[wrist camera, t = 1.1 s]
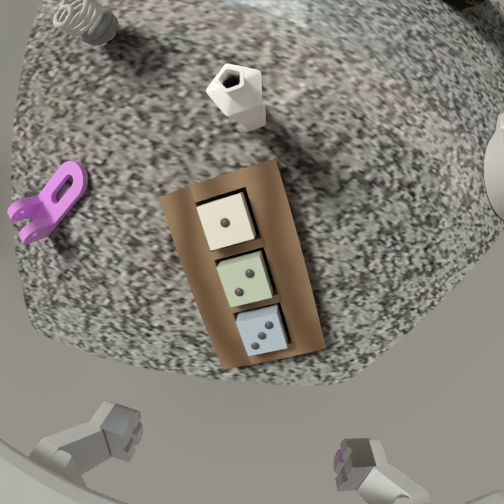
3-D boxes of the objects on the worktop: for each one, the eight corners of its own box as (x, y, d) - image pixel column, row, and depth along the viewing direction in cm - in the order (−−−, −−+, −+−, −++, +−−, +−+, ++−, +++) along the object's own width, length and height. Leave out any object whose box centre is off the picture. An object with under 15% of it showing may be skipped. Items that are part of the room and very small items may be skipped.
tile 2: (261, 250, 35) (259, 256, 33) (272, 289, 36) (272, 297, 34) (220, 261, 36) (216, 267, 33) (233, 298, 37) (230, 307, 35)
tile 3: (277, 303, 37) (276, 313, 34) (287, 337, 38) (287, 348, 35) (238, 313, 38) (235, 322, 35) (250, 345, 39) (248, 356, 36)
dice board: (275, 159, 34) (275, 158, 32) (323, 338, 39) (325, 348, 37) (166, 195, 36) (159, 197, 34) (226, 359, 42) (223, 369, 39)
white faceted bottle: (279, 118, 33) (277, 82, 18) (249, 140, 34) (226, 118, 19) (255, 90, 32) (237, 39, 18) (226, 111, 33) (189, 74, 19)
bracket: (48, 236, 40) (19, 246, 33) (33, 209, 39) (3, 216, 32) (94, 182, 37) (64, 186, 30) (76, 153, 36) (45, 153, 29)
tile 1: (243, 191, 34) (240, 193, 31) (256, 234, 35) (254, 238, 32) (202, 204, 34) (196, 207, 32) (215, 245, 36) (210, 250, 33)
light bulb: (131, 41, 31) (84, 8, 20) (97, 59, 32) (46, 34, 20) (126, 14, 30) (83, -21, 18) (94, 31, 31) (46, 4, 19)
